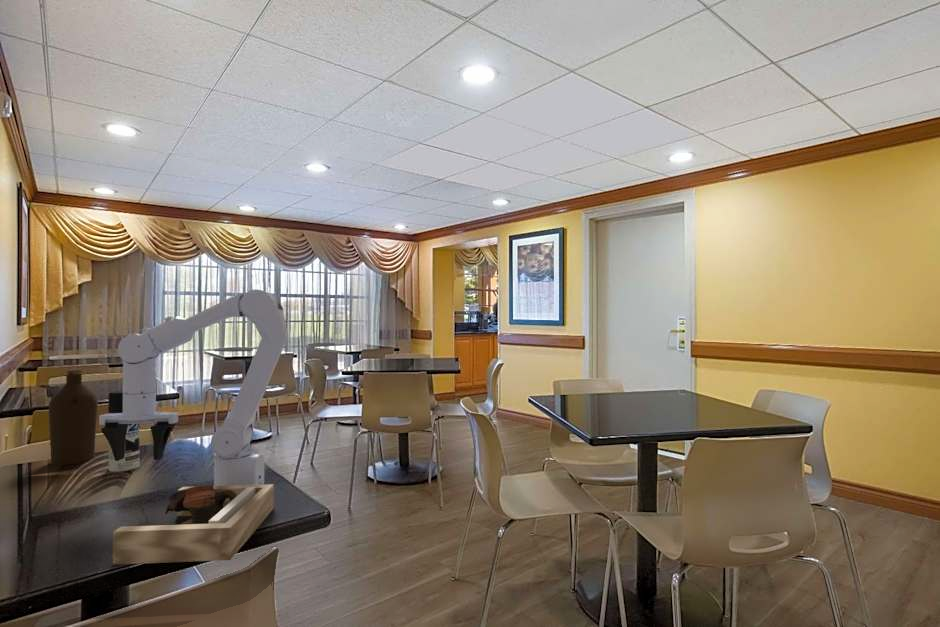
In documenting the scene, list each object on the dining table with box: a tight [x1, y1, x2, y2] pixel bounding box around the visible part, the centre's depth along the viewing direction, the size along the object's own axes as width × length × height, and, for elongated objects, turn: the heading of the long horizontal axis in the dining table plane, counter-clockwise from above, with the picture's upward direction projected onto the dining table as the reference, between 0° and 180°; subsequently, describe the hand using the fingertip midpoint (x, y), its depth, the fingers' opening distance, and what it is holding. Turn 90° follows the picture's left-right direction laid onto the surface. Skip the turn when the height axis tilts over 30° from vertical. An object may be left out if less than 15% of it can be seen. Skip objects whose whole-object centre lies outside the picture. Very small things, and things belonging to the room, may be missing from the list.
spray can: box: [107, 390, 141, 473], centre depth 132 cm, size 7×7×20 cm
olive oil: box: [48, 368, 99, 466], centre depth 140 cm, size 11×11×25 cm
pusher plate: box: [209, 487, 255, 524], centre depth 91 cm, size 2×17×5 cm, turn 4°
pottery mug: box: [164, 484, 237, 525], centre depth 94 cm, size 12×9×8 cm
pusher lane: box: [112, 483, 275, 566], centre depth 90 cm, size 18×22×5 cm
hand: (139, 459), depth 105 cm, fingers open, 7 cm apart
